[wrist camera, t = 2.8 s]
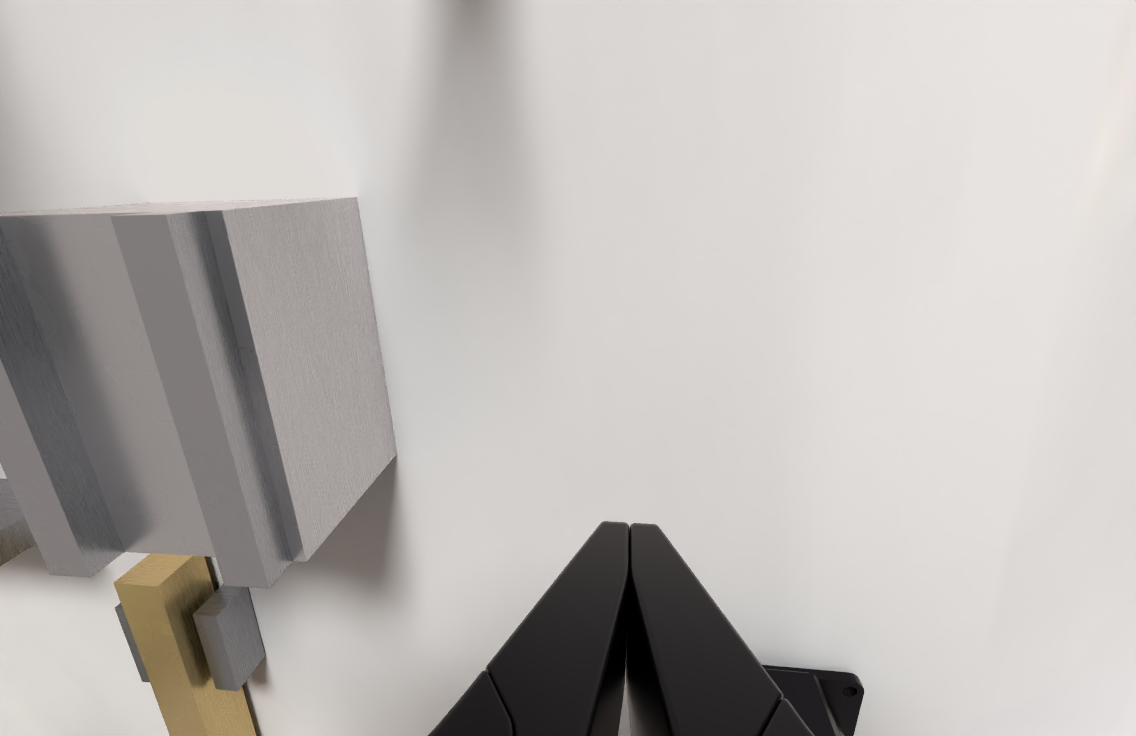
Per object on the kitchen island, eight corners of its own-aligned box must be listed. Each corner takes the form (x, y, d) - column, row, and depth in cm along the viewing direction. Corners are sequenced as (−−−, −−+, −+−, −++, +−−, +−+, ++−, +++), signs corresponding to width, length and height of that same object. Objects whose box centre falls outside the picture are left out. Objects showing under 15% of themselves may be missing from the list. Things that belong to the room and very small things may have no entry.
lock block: (400, 463, 20) (288, 605, 14) (227, 458, 21) (43, 589, 14) (358, 196, 17) (184, 213, 10) (156, 203, 18) (-124, 221, 11)
